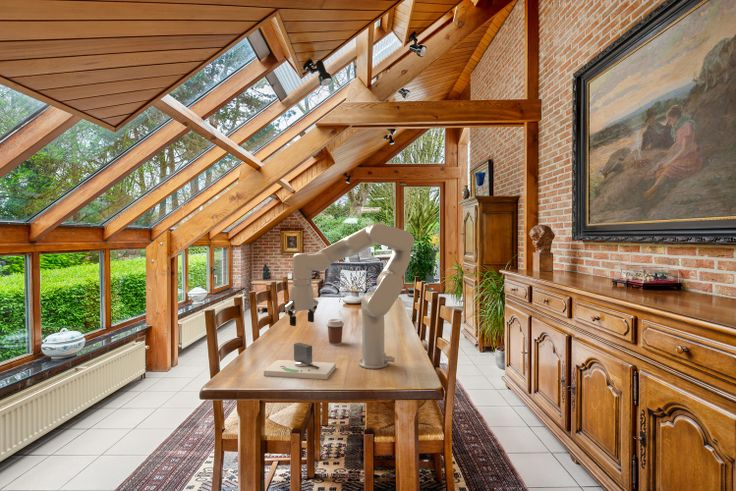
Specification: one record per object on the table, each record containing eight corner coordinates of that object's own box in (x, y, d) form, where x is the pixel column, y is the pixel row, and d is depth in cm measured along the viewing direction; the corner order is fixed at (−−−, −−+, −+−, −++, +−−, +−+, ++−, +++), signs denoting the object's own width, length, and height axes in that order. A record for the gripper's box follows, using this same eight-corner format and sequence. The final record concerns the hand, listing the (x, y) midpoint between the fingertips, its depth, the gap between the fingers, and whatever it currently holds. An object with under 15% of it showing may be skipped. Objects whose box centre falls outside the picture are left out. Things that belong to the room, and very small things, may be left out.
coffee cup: (325, 345, 205) (325, 322, 204) (327, 341, 214) (326, 318, 213) (343, 345, 205) (343, 322, 204) (344, 341, 214) (344, 318, 214)
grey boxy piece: (290, 363, 169) (290, 344, 169) (303, 359, 175) (303, 341, 174) (312, 370, 161) (311, 350, 160) (324, 366, 166) (324, 347, 166)
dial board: (335, 367, 171) (335, 362, 171) (326, 379, 157) (326, 373, 157) (277, 364, 176) (277, 359, 176) (263, 375, 162) (263, 370, 162)
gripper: (311, 280, 177) (311, 319, 178) (279, 283, 164) (279, 325, 165) (323, 281, 173) (323, 321, 173) (291, 285, 159) (291, 328, 160)
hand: (302, 323), depth 169 cm, fingers open, 9 cm apart
